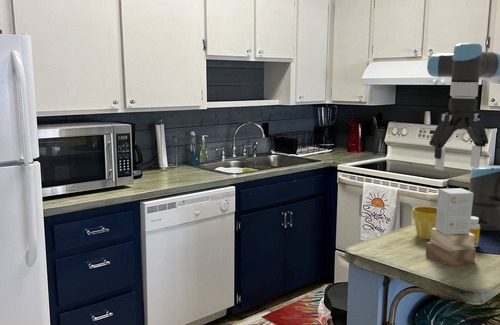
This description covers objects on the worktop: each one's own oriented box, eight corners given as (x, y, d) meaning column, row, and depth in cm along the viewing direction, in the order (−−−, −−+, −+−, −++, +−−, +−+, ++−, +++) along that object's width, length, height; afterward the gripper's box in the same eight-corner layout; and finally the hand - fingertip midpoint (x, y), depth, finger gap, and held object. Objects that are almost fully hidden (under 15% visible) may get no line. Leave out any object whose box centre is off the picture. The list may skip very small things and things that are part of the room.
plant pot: (405, 235, 175) (407, 209, 173) (420, 230, 181) (422, 204, 180) (432, 243, 167) (434, 215, 165) (447, 237, 174) (449, 210, 172)
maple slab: (454, 239, 158) (455, 226, 157) (473, 249, 149) (475, 235, 149) (430, 241, 156) (431, 228, 155) (448, 251, 147) (449, 237, 146)
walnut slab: (449, 252, 160) (451, 238, 159) (474, 262, 150) (475, 248, 150) (425, 255, 156) (426, 242, 155) (449, 267, 147) (450, 252, 146)
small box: (457, 227, 155) (461, 187, 153) (469, 234, 149) (474, 192, 147) (434, 228, 154) (438, 188, 152) (445, 235, 148) (449, 193, 145)
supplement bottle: (457, 243, 167) (459, 216, 166) (468, 241, 169) (471, 214, 168) (470, 248, 162) (472, 220, 161) (481, 246, 164) (484, 218, 163)
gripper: (485, 96, 152) (479, 164, 156) (420, 97, 143) (415, 168, 147) (505, 97, 145) (498, 168, 149) (438, 98, 136) (432, 172, 140)
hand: (457, 168), depth 148 cm, fingers open, 13 cm apart
